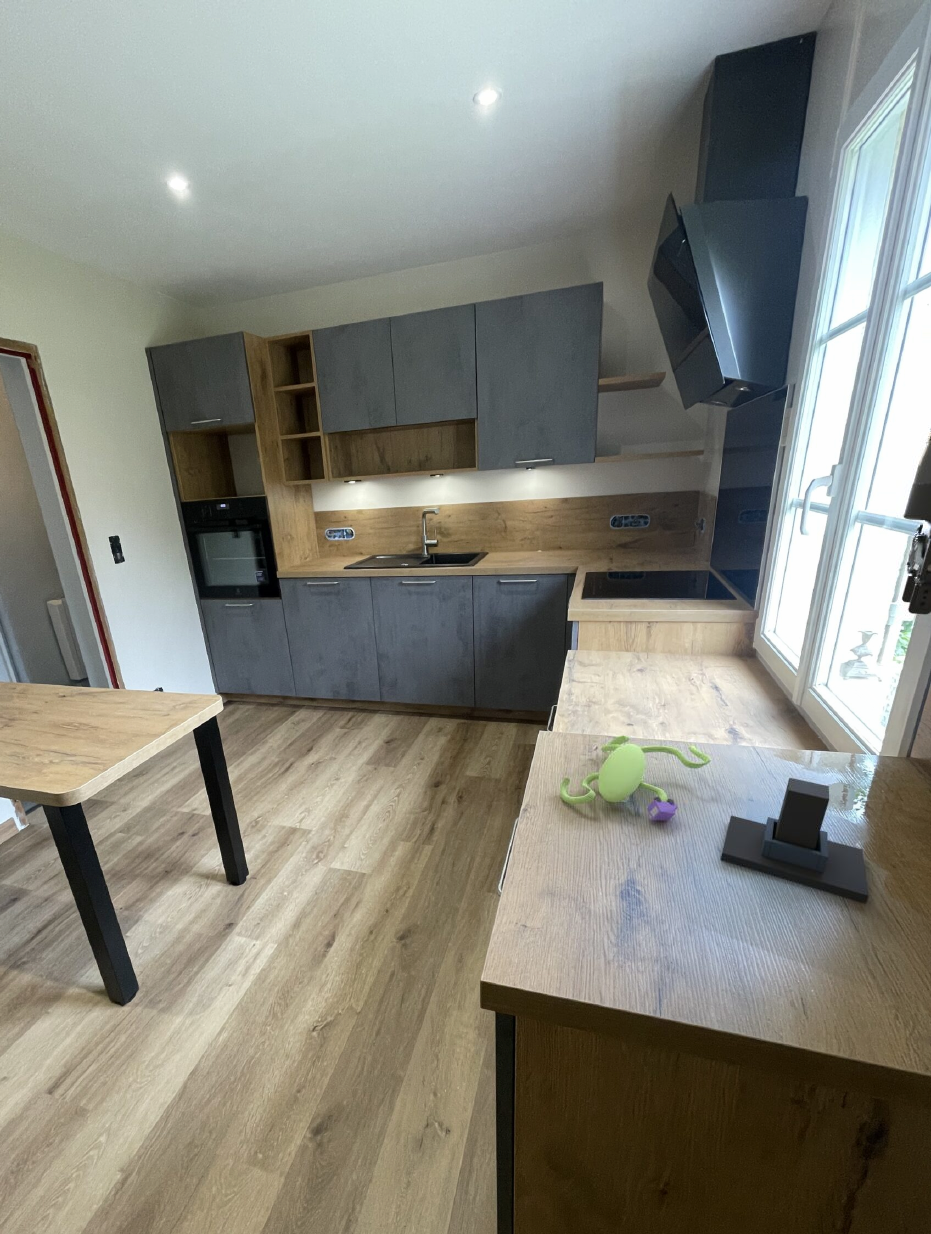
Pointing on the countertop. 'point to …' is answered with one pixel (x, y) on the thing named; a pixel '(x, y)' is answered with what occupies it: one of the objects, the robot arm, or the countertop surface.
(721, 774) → the countertop surface
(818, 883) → the black socket base
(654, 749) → the figurine
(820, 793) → the black rectangular block
